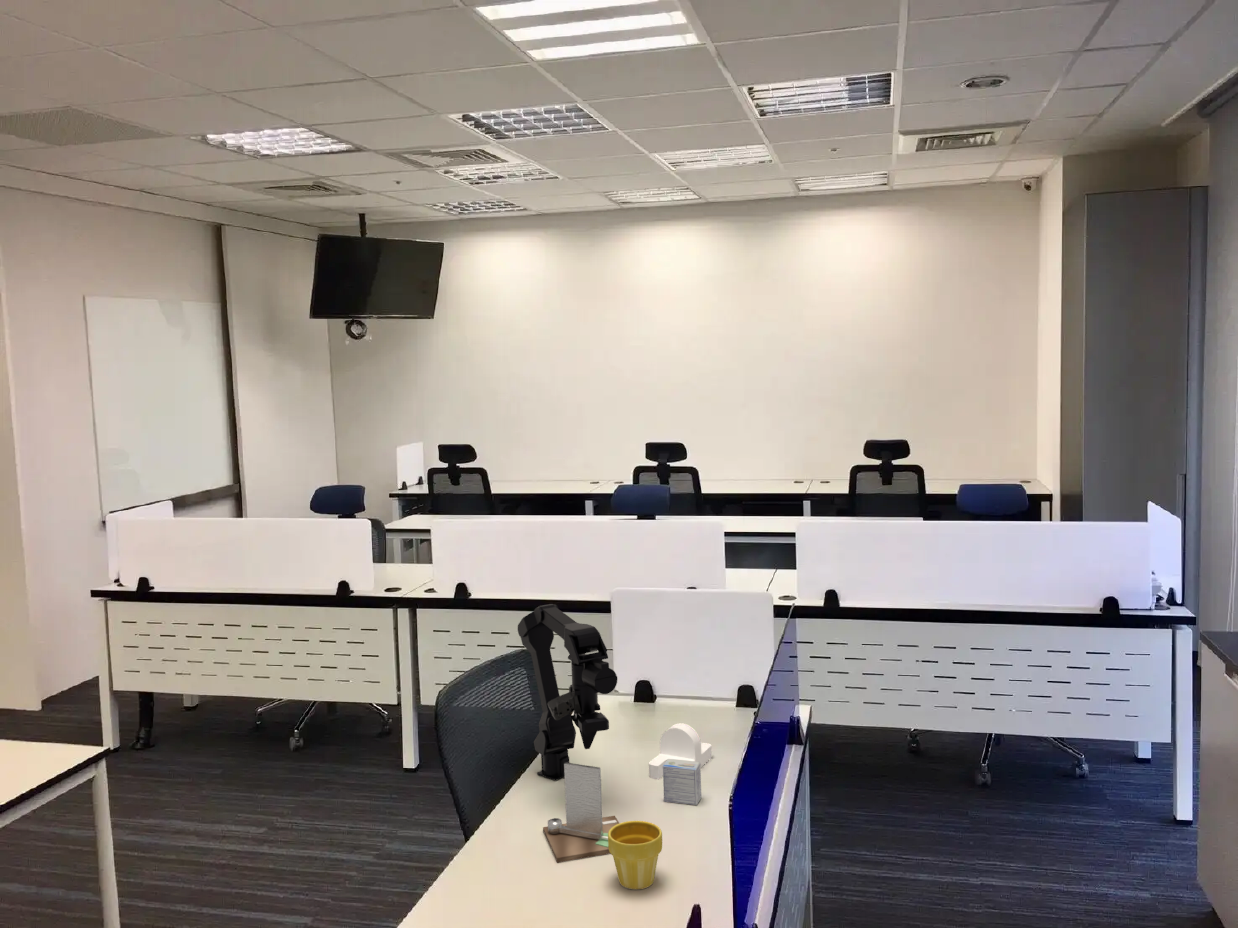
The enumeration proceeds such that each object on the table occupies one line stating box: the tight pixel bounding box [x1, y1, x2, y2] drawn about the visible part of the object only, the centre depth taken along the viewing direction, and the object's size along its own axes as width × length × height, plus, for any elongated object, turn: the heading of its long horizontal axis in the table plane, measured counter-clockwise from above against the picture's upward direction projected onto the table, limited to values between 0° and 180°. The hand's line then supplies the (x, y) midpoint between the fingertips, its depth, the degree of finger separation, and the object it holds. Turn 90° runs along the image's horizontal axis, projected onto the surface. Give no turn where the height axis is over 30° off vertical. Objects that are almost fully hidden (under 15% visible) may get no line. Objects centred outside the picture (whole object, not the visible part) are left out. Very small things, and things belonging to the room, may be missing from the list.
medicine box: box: [662, 759, 702, 806], centre depth 218 cm, size 8×4×9 cm, turn 71°
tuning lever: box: [547, 762, 608, 840], centre depth 199 cm, size 16×3×15 cm, turn 66°
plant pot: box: [608, 820, 663, 890], centre depth 183 cm, size 10×10×10 cm
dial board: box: [542, 815, 620, 864], centre depth 200 cm, size 16×14×1 cm
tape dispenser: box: [648, 722, 712, 780], centre depth 236 cm, size 10×18×11 cm, turn 151°
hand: (587, 748), depth 219 cm, fingers closed
